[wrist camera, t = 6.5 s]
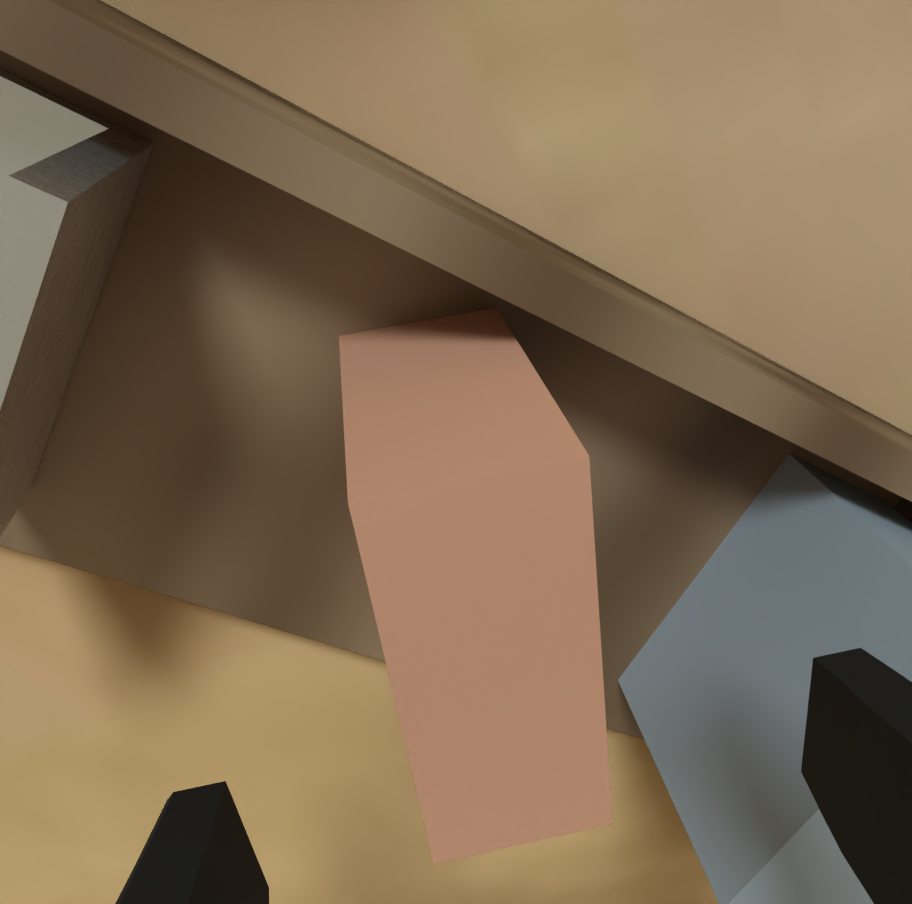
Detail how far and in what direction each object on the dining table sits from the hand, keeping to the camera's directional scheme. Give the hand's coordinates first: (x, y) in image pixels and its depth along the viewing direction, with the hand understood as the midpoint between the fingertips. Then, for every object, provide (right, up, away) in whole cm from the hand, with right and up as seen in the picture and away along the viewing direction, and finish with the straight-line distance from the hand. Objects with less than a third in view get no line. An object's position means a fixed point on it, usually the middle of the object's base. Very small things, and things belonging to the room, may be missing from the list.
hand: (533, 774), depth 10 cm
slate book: (+6, +1, +10) cm, 11 cm away
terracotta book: (-1, +3, +7) cm, 8 cm away
